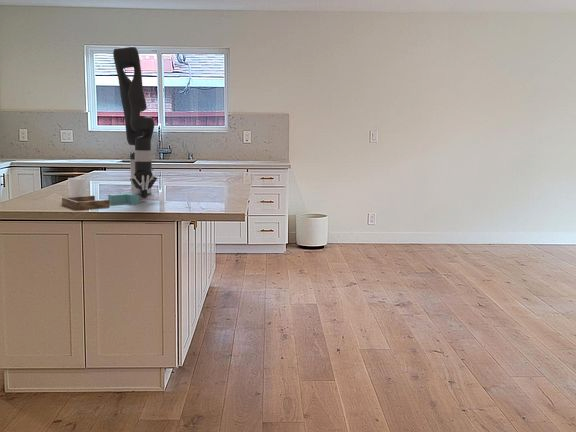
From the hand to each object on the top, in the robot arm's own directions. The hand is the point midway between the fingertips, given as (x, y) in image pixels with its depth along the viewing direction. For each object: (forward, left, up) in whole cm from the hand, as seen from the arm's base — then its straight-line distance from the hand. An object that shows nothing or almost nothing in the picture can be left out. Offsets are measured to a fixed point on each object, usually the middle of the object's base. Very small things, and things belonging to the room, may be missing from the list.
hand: (143, 197), depth 283 cm
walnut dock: (+27, 0, -2) cm, 27 cm away
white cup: (+24, -19, -2) cm, 30 cm away
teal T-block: (+11, 0, -2) cm, 11 cm away
